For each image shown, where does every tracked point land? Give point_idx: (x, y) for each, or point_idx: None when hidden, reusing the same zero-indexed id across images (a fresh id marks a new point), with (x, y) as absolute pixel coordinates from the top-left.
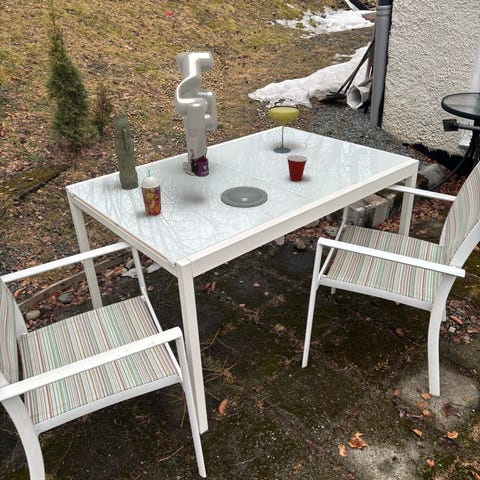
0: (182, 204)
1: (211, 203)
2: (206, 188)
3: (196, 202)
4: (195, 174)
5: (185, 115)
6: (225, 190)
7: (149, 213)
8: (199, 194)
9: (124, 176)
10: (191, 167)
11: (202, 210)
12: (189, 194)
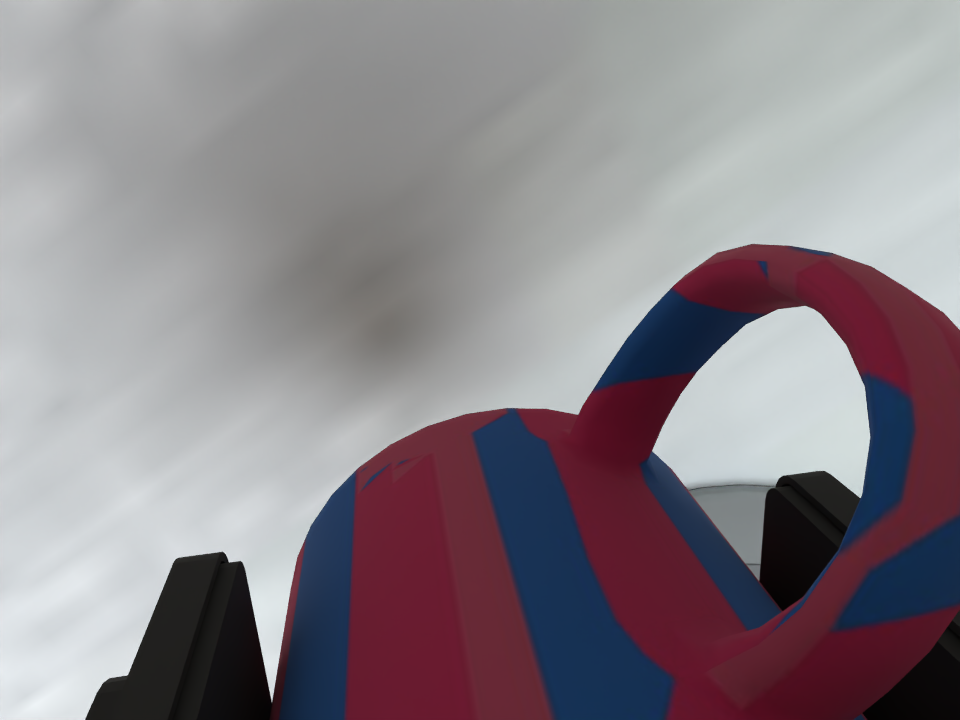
0: (86, 193)
1: None
2: (792, 169)
3: (280, 341)
4: (295, 576)
5: None
6: (759, 504)
7: None
8: (552, 206)
9: None
10: (124, 714)
11: (108, 563)
12: (481, 54)
